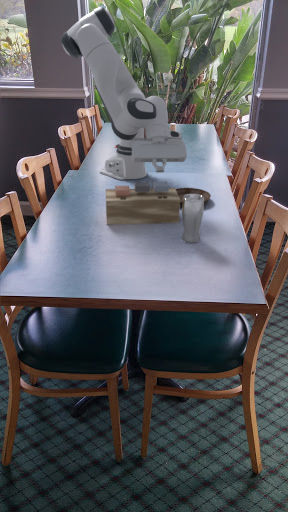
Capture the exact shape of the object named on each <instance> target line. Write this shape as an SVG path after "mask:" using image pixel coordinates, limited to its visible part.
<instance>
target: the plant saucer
mask: <svg viewBox="0 0 288 512" xmlns="http://www.w3.org/2000/svg"><path fill="white" fill-rule="evenodd" d="M175 189H176V191H177V194H178V196H179V198H180V207H182V205H183V198H184V195H187V194H199V195H202V196H203V197H204V205H205V204H206V203H207V202H208V201H209V200H210V199H211V196H212V195H211V193H210V192H209V191H206V190H204V189H201V188H194V187H179V188H175Z"/></svg>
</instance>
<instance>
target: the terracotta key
mask: <svg viewBox="0 0 288 512" xmlns="http://www.w3.org/2000/svg"><path fill="white" fill-rule="evenodd" d="M114 187H115V188H114V189H115V193H116V196H130V189H131V188H130V186H129V185H114Z"/></svg>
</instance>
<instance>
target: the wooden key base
mask: <svg viewBox="0 0 288 512" xmlns="http://www.w3.org/2000/svg"><path fill="white" fill-rule="evenodd" d="M129 189H130V196H116V193H115V188H106V189H105V213H106V216H105V218H106V219H105V220H106V226H107V225H134V224H135V225H143V224H150V225H151V224H179V222H180V207H181V206H180V198H179V196H178V194H177V191H176V189H177V188H175V187H169V191H154V187H153V188H151V187H149V192H135V188H129Z"/></svg>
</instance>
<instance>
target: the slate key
mask: <svg viewBox="0 0 288 512" xmlns="http://www.w3.org/2000/svg"><path fill="white" fill-rule="evenodd" d="M152 185H153V188H154V191H169V188H170V186H169V183H168V181H166V180H165V181H162V180H161V181H153V183H152Z"/></svg>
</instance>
